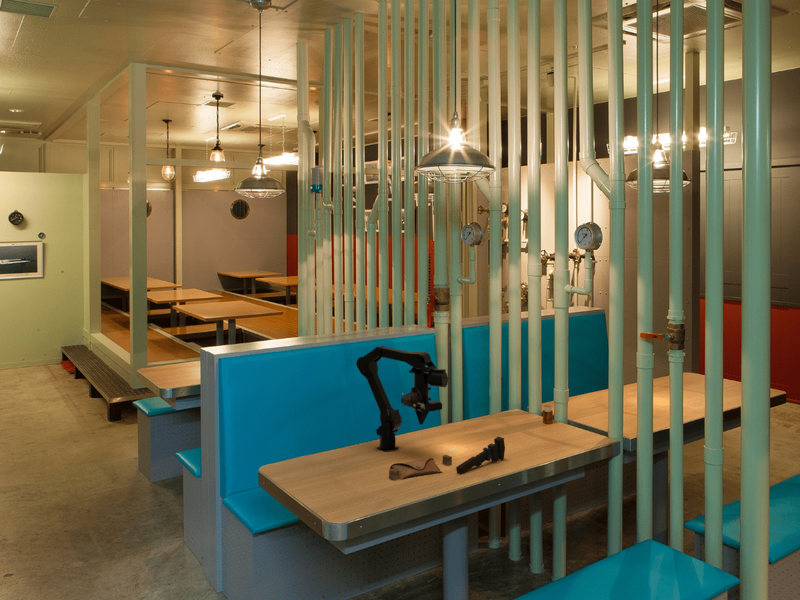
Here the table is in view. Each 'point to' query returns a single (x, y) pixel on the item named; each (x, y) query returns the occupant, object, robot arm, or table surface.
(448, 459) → the block
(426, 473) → the sunglasses case
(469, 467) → the adjustable wrench
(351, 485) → the table surface
